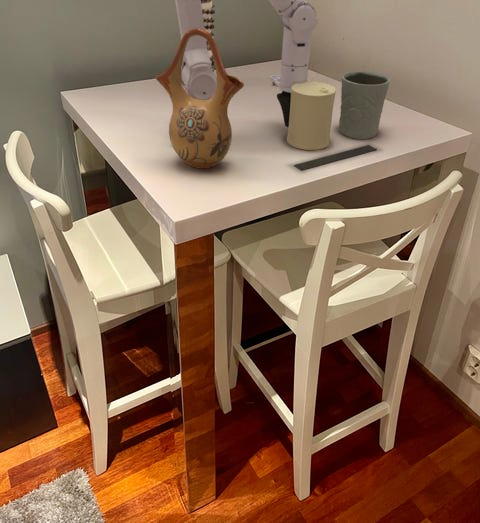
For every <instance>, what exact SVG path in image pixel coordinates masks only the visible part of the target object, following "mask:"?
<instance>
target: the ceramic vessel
mask: <svg viewBox="0 0 480 523" xmlns="http://www.w3.org/2000/svg"><path fill="white" fill-rule="evenodd" d="M196 35H198V36H202V37H204V38H205V39H206V40H207V42H208V44H209V46H210V49H211V52H212V55H213V58H214V59H213V62H214V67H215V75H216V77H217V89H216V92H215V94H214V95H213V96H212V97H211V98H210V99H208V100H200V99H195V98H193V97H191V96H190V95H188V94H187V93H186V91H185V90H184V89H185V87H183V82H182V79H181V68H182V65H183V56H184V52H185V48H186V45H187V42H188V40H189V39H190V37H192V36H196ZM154 78H155V80H156V81H157V82H158V83H159V84H160V85H161V86H162V87H163V88H164V90H165V91H166V93H167V94H168V96H169V98H170V102H171V104H172V113H171V117H170V119H169V125H168V135H169V139H170V140H169V141H170V144H171V147H172V148H173V150H174V152H175V153H176V155H177V156H178V158H180V159H181V160H182V162H184V163H185V164H187V166H189V167H192V168H196V169H211V168H213V167H215V166H216V165H218V164H219V163H221V162H222V161H223V160H224V158H225V157H226V156H227V155H228V153H229V151H230V149H231V145H232V140H233V130H232V124H231V121H230V119H229V115H228V109H229V108H228V107H229V104H230V101H231V100H232V99H233V97H234V96H235V95H236V94H237V93H238V92H239V91H240V90H241V89H243V88H244V86H245V84H244V82H243V81H242V80H241V79H240V78H238V77H236V76H233V75H230V74H228V73H227V70H226V69H225V67H224V64H223V62H222V59H221V56H220V52H219V49H218V47H217V44H216V41H215V39H214V37H213V38H212V36H211V35H210V34H209V33H208V32H206V31H205V30H202V29H199V28H196V29H191V30H189V31H187V32H186V33H185V34H184V36H183V38H182V40H181V39H180V43H179V46H178V48H177V51H176V53H175V56H174V58H173V60H172V61H171V63H170V65H169V67H168V68H167V69H166V71H164V72H161V73H160V74H158V75H156V76H155V77H154Z"/></svg>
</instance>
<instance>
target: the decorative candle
mask: <svg viewBox="0 0 480 523" xmlns="http://www.w3.org/2000/svg"><path fill="white" fill-rule="evenodd" d="M201 6H202V14H203V21H204V29H205V31H206V32H208V33H209V34H210V35H211V36H212V38H213V39H214V36H215V33H213V32H212V30H213V29H215V25H214V24H213V23H214V22H215V18H213V16H212V15H214V14H215V13H216V11H215V10H214V9H213V8H215V5H214V4H213V0H201ZM206 44H207V50H208V54H209V57H210V61H211V67H212V71H213V73H214V72H215V68H214V67H213V66H215V62H214V58H213V55H212V52H211V49H210V46H209V44H208V42H207V40H206Z"/></svg>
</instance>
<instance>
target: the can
mask: <svg viewBox="0 0 480 523" xmlns="http://www.w3.org/2000/svg"><path fill="white" fill-rule="evenodd" d="M336 93H337V89H336V87H335V86H333V85H331V84H328V83H325V82H321V81H311V80H310V81H308V80H307V82H304V83H295V84H293V85H292V86H291V103H290V116H289V127H287V137H286V142H287V144H288V145H289V146H291V147H293V148H295V149H299V150H304V151H318V150H319V151H320V150H322V149H326V148H327V147H329V145H330V135H331V126H332V119H333V112H334V105H335V99H336V98H335V97H336Z"/></svg>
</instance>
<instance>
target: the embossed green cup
mask: <svg viewBox="0 0 480 523" xmlns="http://www.w3.org/2000/svg"><path fill="white" fill-rule="evenodd" d="M390 82H391V79H390V78H389V77H388V76H386V75H384V74H381V73H377V72H369V71H351V72H347V73H344V74H343V75H342V76H341V90H340V93H341V94H340V103H341V104H340V115H339V123H338V124H339V125H338V132H339V133H340V134H341V135H342V136H345V137H347V138H350V139H355V140H368V139H372V138H375V137H376V136H377V134H378V131H379V128H380V121H381V118H382V113H383V108H384V104H385V101H386V100H385V99H386V97H387V94H388V90H389V86H390Z"/></svg>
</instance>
